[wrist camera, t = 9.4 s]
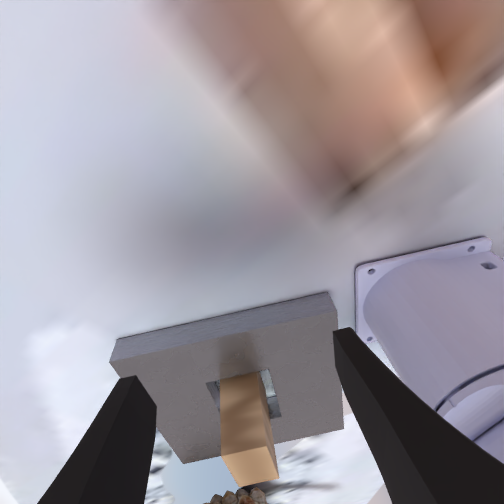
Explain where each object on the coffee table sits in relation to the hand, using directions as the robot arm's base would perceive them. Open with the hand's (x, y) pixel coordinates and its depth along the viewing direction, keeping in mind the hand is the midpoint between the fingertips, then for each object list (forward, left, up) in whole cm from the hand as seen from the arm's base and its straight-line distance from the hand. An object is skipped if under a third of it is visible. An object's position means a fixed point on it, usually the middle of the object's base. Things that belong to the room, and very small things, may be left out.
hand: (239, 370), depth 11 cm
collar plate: (+2, +14, -9) cm, 17 cm away
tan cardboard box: (+2, +14, -10) cm, 17 cm away
